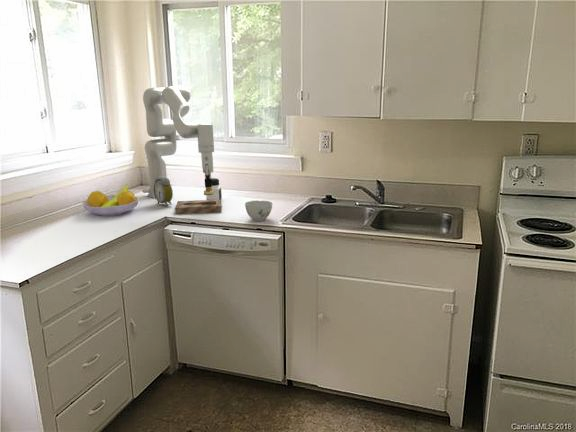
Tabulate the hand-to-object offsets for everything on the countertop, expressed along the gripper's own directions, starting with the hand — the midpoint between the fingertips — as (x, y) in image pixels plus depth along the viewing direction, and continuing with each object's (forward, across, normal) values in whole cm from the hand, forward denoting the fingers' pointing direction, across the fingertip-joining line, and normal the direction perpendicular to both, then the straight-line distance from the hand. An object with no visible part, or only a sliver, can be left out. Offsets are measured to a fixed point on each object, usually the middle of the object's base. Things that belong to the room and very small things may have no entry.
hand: (208, 185), depth 237 cm
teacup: (+12, -22, -23) cm, 34 cm away
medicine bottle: (+12, +19, -2) cm, 23 cm away
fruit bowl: (+12, +3, +47) cm, 49 cm away
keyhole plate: (+12, 0, +5) cm, 13 cm away
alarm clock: (+12, +13, +23) cm, 29 cm away
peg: (+4, 0, 0) cm, 4 cm away
